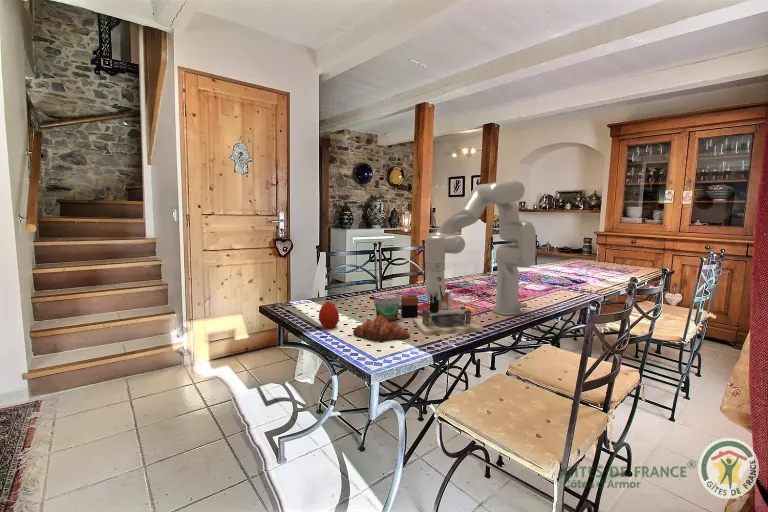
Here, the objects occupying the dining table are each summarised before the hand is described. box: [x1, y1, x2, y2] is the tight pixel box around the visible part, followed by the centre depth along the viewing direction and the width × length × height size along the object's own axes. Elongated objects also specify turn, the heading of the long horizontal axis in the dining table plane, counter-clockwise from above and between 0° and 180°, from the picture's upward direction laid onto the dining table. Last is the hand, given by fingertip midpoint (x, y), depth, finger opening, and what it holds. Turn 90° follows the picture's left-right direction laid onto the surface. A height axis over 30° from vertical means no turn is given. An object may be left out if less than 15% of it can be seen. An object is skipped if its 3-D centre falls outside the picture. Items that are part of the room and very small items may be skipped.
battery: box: [400, 293, 419, 319], centre depth 164 cm, size 4×7×10 cm, turn 98°
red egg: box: [318, 301, 340, 330], centre depth 148 cm, size 8×8×11 cm
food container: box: [373, 295, 401, 323], centre depth 157 cm, size 12×6×10 cm, turn 117°
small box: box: [439, 289, 452, 310], centre depth 170 cm, size 8×6×10 cm
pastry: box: [352, 315, 411, 342], centre depth 139 cm, size 17×15×8 cm
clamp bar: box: [428, 308, 467, 317], centre depth 149 cm, size 17×4×1 cm, turn 102°
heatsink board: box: [412, 306, 485, 336], centre depth 150 cm, size 24×16×8 cm, turn 102°
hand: (434, 311), depth 148 cm, fingers closed
